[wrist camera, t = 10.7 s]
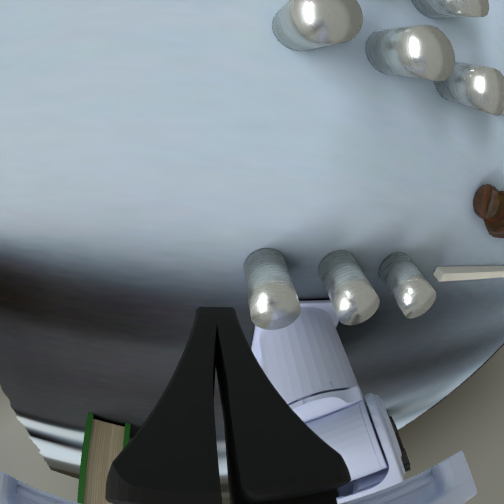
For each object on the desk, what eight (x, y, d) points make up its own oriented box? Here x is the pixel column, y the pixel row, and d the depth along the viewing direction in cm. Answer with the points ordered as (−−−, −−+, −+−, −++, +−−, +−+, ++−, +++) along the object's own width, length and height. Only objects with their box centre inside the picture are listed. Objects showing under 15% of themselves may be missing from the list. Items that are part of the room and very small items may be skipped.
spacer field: (400, 280, 25) (425, 316, 21) (241, 281, 23) (248, 330, 19) (467, 10, 10) (512, 12, 6) (284, -69, 8) (305, -104, 4)
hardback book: (88, 412, 35) (77, 541, 16) (130, 423, 38) (127, 553, 18) (93, 439, 44) (87, 535, 24) (125, 447, 46) (124, 543, 27)
